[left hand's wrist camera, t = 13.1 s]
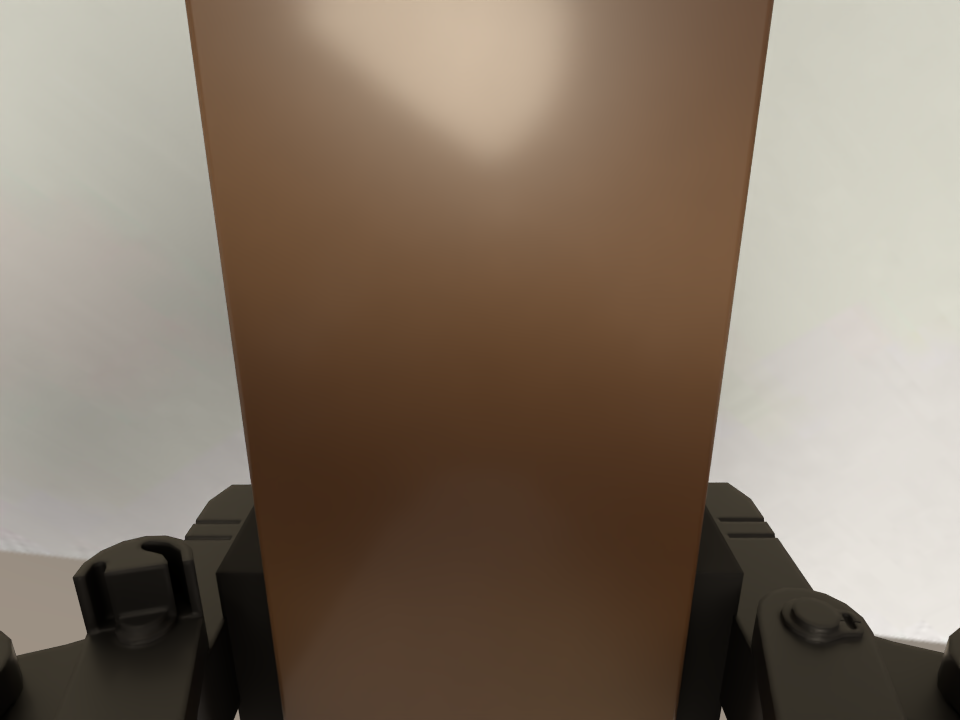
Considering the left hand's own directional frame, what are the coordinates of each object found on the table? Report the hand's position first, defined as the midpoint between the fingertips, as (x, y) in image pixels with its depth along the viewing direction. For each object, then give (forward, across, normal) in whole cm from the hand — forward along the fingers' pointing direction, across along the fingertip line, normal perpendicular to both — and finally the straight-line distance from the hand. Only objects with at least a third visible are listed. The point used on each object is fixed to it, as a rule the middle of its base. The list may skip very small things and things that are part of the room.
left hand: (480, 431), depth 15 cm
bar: (+1, 0, -28) cm, 28 cm away
